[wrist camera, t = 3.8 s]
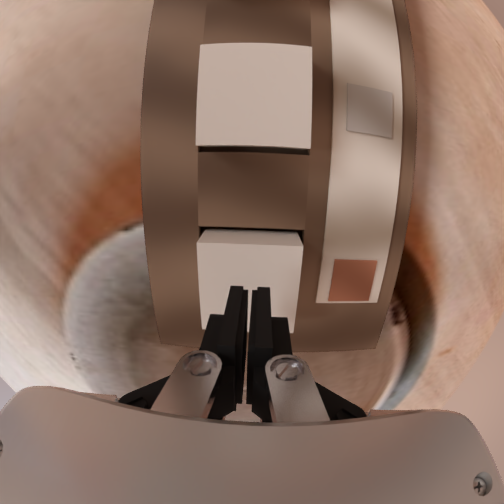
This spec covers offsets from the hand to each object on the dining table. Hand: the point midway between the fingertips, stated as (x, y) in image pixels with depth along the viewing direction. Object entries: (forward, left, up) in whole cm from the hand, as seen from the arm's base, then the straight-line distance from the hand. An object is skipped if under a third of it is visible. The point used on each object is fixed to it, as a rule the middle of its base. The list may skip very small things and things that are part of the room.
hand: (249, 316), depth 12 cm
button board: (+7, +6, -7) cm, 12 cm away
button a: (0, 0, -4) cm, 5 cm away
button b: (+6, +7, -5) cm, 11 cm away
